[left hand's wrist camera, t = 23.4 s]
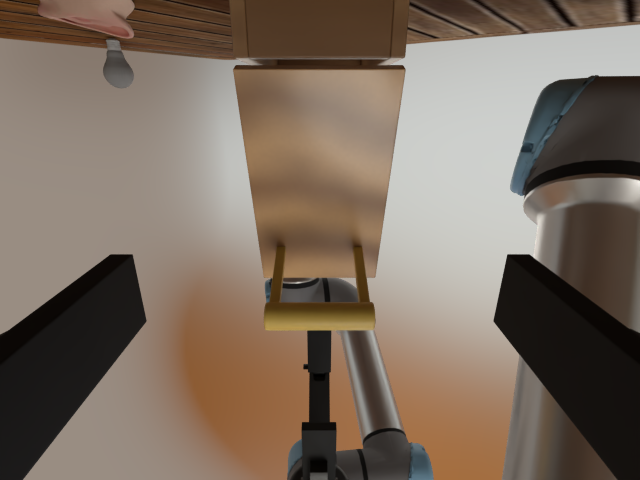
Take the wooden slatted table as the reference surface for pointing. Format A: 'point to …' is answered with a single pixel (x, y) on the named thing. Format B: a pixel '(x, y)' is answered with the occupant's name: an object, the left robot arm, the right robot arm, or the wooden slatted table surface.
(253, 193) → the lid
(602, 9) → the wooden slatted table surface
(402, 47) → the chest
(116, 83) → the light bulb
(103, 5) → the anatomical model
